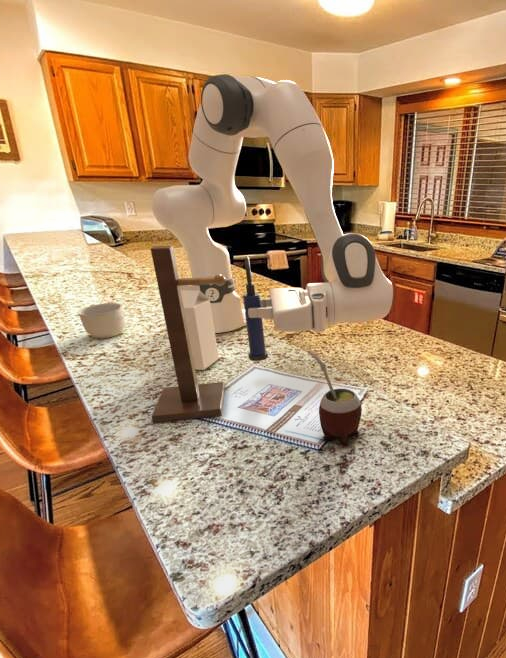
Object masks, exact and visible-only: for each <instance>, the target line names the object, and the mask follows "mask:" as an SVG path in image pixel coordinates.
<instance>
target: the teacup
mask: <svg viewBox="0 0 506 658" xmlns="http://www.w3.org/2000/svg"><path fill="white" fill-rule="evenodd" d="M77 315H78V316H79V318H80V322H81V325H82V326H83V328H84V331H85V332H86V334H87V335H89V336H92V337H94V338H97V339H108V338H112V337H115V336H118V335H120V334H121V333H122V332H123V330H124V329H125V327H126V323H127V322H126V318H125V314H124V310H123V305H122V303H117V302H105V303H98V304H95V303H93V304H90V305H89V306H87V307H84V308H81V309H80V310H79V311H78V312H77Z"/></svg>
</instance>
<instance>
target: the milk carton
mask: <svg viewBox="0 0 506 658" xmlns="http://www.w3.org/2000/svg"><path fill="white" fill-rule="evenodd" d="M180 289H181V294H182V300H183V305H184V311H185V316H186V322H187V327H188V333H189V338H190V344H191V349H192V355H193V360H194V366H195V371H205V370H207V369H208V368H209V367H210V366H212V365H213V364H214V363H216V362H217V361H218V360H219V358H220V357H219V351H218V345H217V338H216V333H215V330H214V324H213V317H212V311H211V304H210V299H209V298H208V297H206V296H205V295H204V294H203V293H202V292H201V291H200V287H199V286H193V285H184V286H180Z"/></svg>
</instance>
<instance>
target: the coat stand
mask: <svg viewBox="0 0 506 658" xmlns="http://www.w3.org/2000/svg"><path fill="white" fill-rule="evenodd" d="M150 252H151V253H150V254H151V258H152V263H153V269H154V272H155V278H156V282H157V288H158V293H159V298H160V303H161V308H162V313H163V318H164V322H165V323H164V324H165V327H166V333H167V338H168V342H169V346H170V351H171V356H172V361H173V367H174V371H175V377H176V382H177V386H176V385H175V386H167V387H163V388H162V391H161V393H160V396H159V397H158V400H157V402H156V405H155V407H154V410H153V412H152V415H151V419H152V420H151V421H152V423H153V424H159V423H169V422H178V421H187V420H195V419H196V420H197V419H203V418H205V419H206V418H213V417H221V416H222V415H223V407H224V401H225V394H226V393H225V392H226V384H225V381H218V382H209V383H198V378H197V370H195V366H194V360H193V355H192V349H191V344H190V338H189V333H188V327H187V322H186V316H185V311H184V305H183V300H182V294H181V289H180V286H184V285H203V284H216V285H218V286H222V285H224V283H225V277H224V276H223V275H220V274H218V275H216V276H215V277H203V278H192V277H187V278H180V277H179V273H178V267H177V261H176V256H175V252H174V246H173V245H154V246H152V247H151V248H150Z"/></svg>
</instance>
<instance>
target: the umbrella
mask: <svg viewBox="0 0 506 658" xmlns="http://www.w3.org/2000/svg"><path fill="white" fill-rule="evenodd" d="M244 266H245V275H246V283H247V284H245V289H246V293H243V294H242V298H243V308H244V309H245V316H246V324H247V325H246V330H247V338H248V348H249V352H248V355H247V356H248V359H249V360H250V361H252V362H261V361H264V360H267V359H268V358H269V352H268V351H267V350H266V341H265V332H264V322H263V318H258V317H257V318H250V317H249V315H248V308H249V307H257V308H261V304H260V299H261V297H260V293H258V292H256V288H255V284H254V283H253V280H252V279H253V278H252V269H251V261H250V257H249V256H248V255H247V256H245V257H244Z"/></svg>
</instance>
